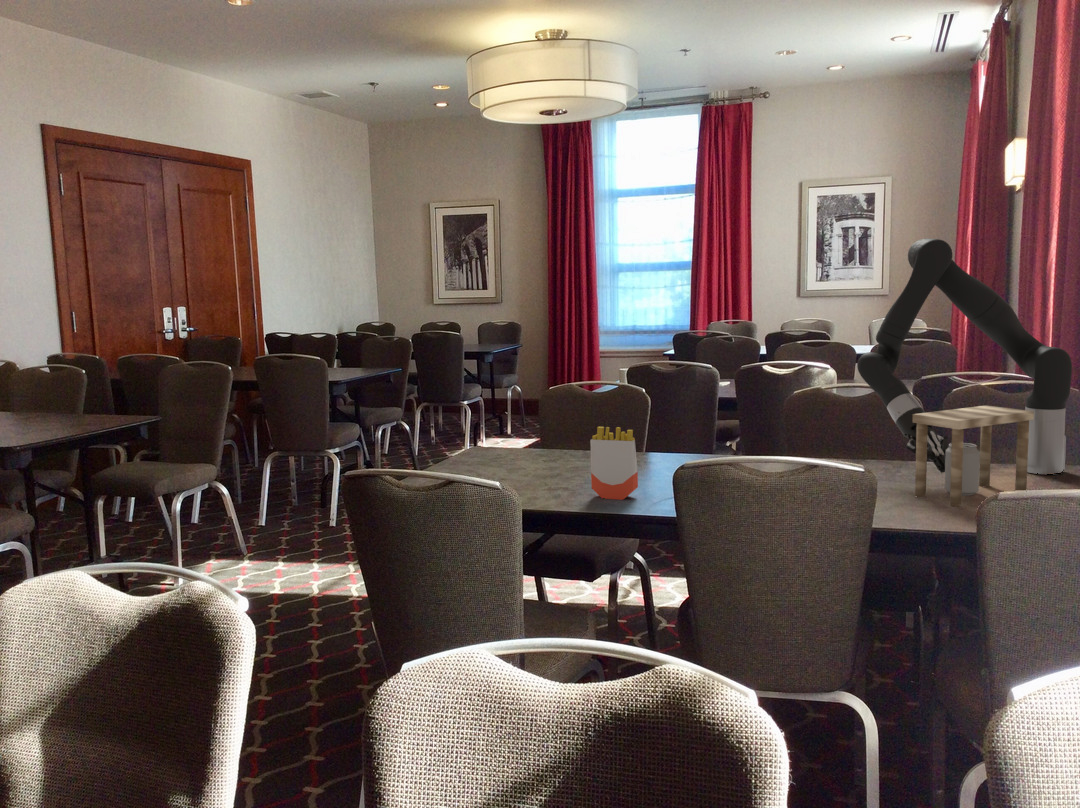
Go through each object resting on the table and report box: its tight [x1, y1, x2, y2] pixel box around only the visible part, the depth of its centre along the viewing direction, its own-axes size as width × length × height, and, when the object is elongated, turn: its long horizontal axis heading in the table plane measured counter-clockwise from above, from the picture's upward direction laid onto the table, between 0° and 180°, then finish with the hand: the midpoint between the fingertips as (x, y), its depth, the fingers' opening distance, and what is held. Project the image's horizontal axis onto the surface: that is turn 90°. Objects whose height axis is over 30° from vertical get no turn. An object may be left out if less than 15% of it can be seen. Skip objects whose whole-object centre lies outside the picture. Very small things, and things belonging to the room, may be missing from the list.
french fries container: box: [589, 426, 639, 500], centre depth 220 cm, size 5×11×18 cm, turn 68°
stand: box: [913, 405, 1034, 508], centre depth 210 cm, size 25×13×20 cm, turn 115°
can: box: [944, 442, 980, 497], centre depth 213 cm, size 8×8×12 cm
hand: (946, 470), depth 217 cm, fingers closed
